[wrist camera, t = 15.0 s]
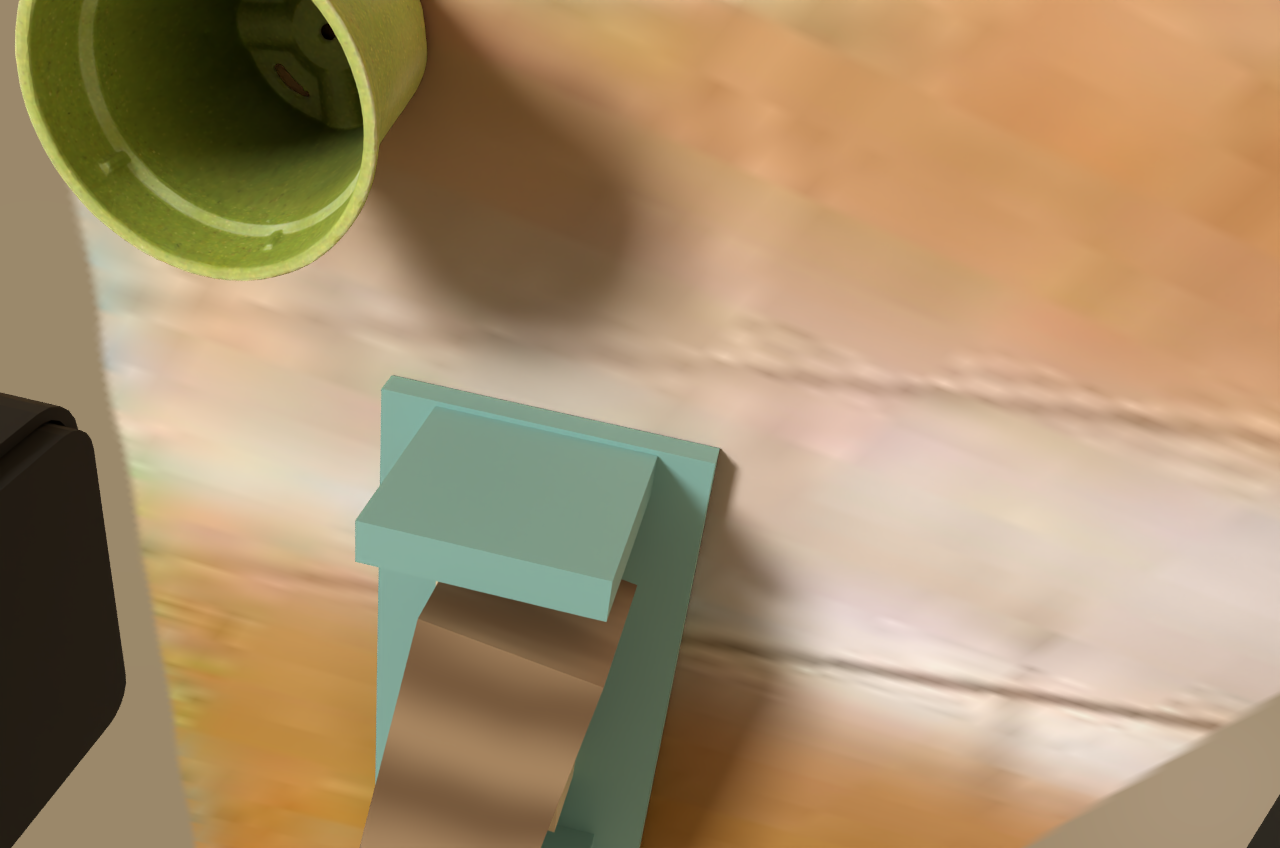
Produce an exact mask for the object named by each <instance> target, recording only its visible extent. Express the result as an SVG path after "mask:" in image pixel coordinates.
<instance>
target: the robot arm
mask: <svg viewBox="0 0 1280 848" xmlns="http://www.w3.org/2000/svg"><path fill="white" fill-rule="evenodd" d="M125 675H126V674H125V667H124V661H123V653H122V646H121V639H120V632H119V626H118V618H117V610H116V603H115V597H114V589H113V582H112V575H111V568H110V561H109V554H108V547H107V540H106V532H105V525H104V518H103V511H102V504H101V497H100V490H99V483H98V475H97V468H96V462H95V454H94V448H93V444H92V441H91V439H90V437H89V436H88V435H87V433H85V432H83V431H81V430H78V428H77V424H76V421H75V418H74V417H73V416H72V414H71V413H70V412H69V411H68V410H66V409H64V408H62V407H60V406H56V405H52V404H47V403H43V402H39V401H34V400H30V399H26V398H22V397H17V396H13V395H9V394H4V393H0V848H11V847H12V846H13V845H14V844H15V842H16V841H17V840H18V838H19V837H20V836H21V835H22V833H23V832H24V831H25V830H26V829H27V827H28V826H29V825H30V823H31V822H32V821H33V820H34V818H35V817H36V816H37V815H38V813H39V812H40V811H41V809H42V808H43V807H44V806H45V805H46V803H47V802H48V801H49V800H50V798H51V797H52V796H53V795H54V793H55V792H56V791H57V790H58V788H59V787H60V786H61V785H62V783H63V782H64V781H65V780H66V778H67V777H68V776H69V775H70V773H71V772H72V771H73V770H74V768H75V767H76V766H77V765H78V763H79V762H80V761H81V759H82V758H83V757H84V756H85V755H86V753H87V752H88V751H89V750H90V748H91V747H92V746H93V745H94V743H95V742H96V741H97V740H98V738H99V737H100V736H101V735H102V733H103V732H104V731H105V730H106V728H107V727H108V726H109V724H110V723H111V722H112V720H113V718H114V717H115V715H116V713H117V711H118V709H119V707H120V705H121V702H122V698H123V696H124V691H125V685H126V676H125ZM1247 848H1280V795H1279V797H1278V798H1277V800H1276V801H1275V803H1274V805H1273V806H1272V808H1271V809H1270V811H1269V813H1268V814H1267V816H1266V817H1265V819H1264V821H1263V823H1262V824H1261V826H1260V827H1259V829H1258V831H1257V832H1256V834H1255V835H1254V837H1253V839H1252V840H1251V842H1250V843H1249V845H1248V847H1247Z"/></svg>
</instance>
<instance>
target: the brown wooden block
mask: <svg viewBox="0 0 1280 848" xmlns="http://www.w3.org/2000/svg"><path fill="white" fill-rule="evenodd" d="M636 588H637V585H636V584H633V583H630V582H628V581H625V580H622V579H621V582H620V585H619V587H618V590H617V593H616V596H615V599H614V602H613V605H612V608H611V610H610V613H609V616H608V619H607V622H604V621H600V620H596V619H591V618H587V617H583V616H579V615H575V614H571V613H567V612H562V611H558V610H554V609H550V608H546V607H542V606H538V605H533V604H529V603H525V602H521V601H517V600H513V599H508V598H504V597H500V596H496V595H492V594H488V593H484V592H479V591H475V590H471V589H467V588H463V587H459V586H455V585H450V584H446V583H442V582H438V583H437V585H436V587H435V589H434V590H433V592H432V594H431V596H430V598H429V599H428V601H427V603H426V605H425V607H424V608H423V610H422V612H421V614H420V616H419V617H418V620H417V624H416V628H415V632H414V636H413V639H412V643H411V647H410V651H409V655H408V659H407V663H406V667H405V671H404V675H403V679H402V683H401V687H400V691H399V695H398V698H397V702H396V706H395V710H394V714H393V718H392V722H391V726H390V730H389V734H388V738H387V742H386V746H385V750H384V754H383V757H382V761H381V765H380V769H379V773H378V777H377V781H376V785H375V789H374V793H373V797H372V801H371V805H370V809H369V813H368V816H367V820H366V824H365V828H364V832H363V836H362V840H361V844H360V848H541V846H542V844H543V841H544V838H545V836H546V833H547V831H548V828H549V826H550V823H551V821H552V818H553V816H554V813H555V810H556V808H557V805H558V803H559V800H560V798H561V795H562V793H563V790H564V788H565V785H566V782H567V780H568V777H569V775H570V772H571V770H572V767H573V765H574V762H575V760H576V757H577V754H578V752H579V749H580V747H581V744H582V742H583V739H584V737H585V734H586V732H587V729H588V726H589V724H590V721H591V719H592V716H593V714H594V711H595V709H596V706H597V704H598V701H599V698H600V696H601V693H602V691H603V688H604V685H605V682H606V679H607V676H608V673H609V670H610V667H611V664H612V661H613V658H614V655H615V652H616V649H617V646H618V643H619V640H620V637H621V634H622V630H623V627H624V624H625V621H626V618H627V615H628V612H629V609H630V606H631V603H632V600H633V597H634V594H635V591H636Z"/></svg>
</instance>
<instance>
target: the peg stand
mask: <svg viewBox="0 0 1280 848" xmlns="http://www.w3.org/2000/svg"><path fill="white" fill-rule="evenodd" d="M719 450H720V448H716V447H711V446H707V445H702V444H698V443H693V442H689V441H684V440H680V439H676V438H671V437H667V436H662V435H658V434H653V433H649V432H644V431H640V430H635V429H631V428H626V427H622V426H617V425H613V424H608V423H604V422H599V421H595V420H590V419H586V418H581V417H577V416H572V415H568V414H564V413H559V412H555V411H550V410H546V409H541V408H537V407H532V406H528V405H523V404H519V403H514V402H510V401H505V400H501V399H496V398H492V397H487V396H483V395H478V394H474V393H469V392H465V391H460V390H456V389H451V388H447V387H443V386H438V385H434V384H429V383H425V382H420V381H416V380H411V379H407V378H402V377H398V376H393V375H392V376H391V377H390V379H389V380H388V381H387V382H386V384H385V385H384V386H383V388H382V390H381V456H380V486H379V488H378V489H377V490H376V492H375V493H374V495H373V496H372V498H371V499H370V500H369V502H368V503H367V505H366V506H365V508H364V509H363V511H362V512H361V513H360V515H359V516H358V518H357V519H356V521H355V562H359V563H363V564H367V565H371V566H376V567H379V586H378V651H377V716H376V781H377V777H378V773H379V769H380V765H381V761H382V757H383V754H384V750H385V746H386V742H387V738H388V734H389V730H390V726H391V722H392V718H393V714H394V710H395V706H396V702H397V698H398V695H399V691H400V687H401V683H402V679H403V675H404V671H405V667H406V663H407V659H408V655H409V651H410V647H411V643H412V639H413V636H414V632H415V628H416V624H417V620H418V617H419V616H420V614H421V612H422V610H423V608H424V607H425V605H426V603H427V601H428V599H429V598H430V596H431V594H432V592H433V590H434V589H435V587H436V585H437V583H438V582H442V583H446V584H450V585H455V586H459V587H463V588H467V589H471V590H475V591H479V592H484V593H488V594H492V595H496V596H500V597H504V598H508V599H513V600H517V601H521V602H525V603H529V604H533V605H538V606H542V607H546V608H550V609H554V610H558V611H562V612H567V613H571V614H575V615H579V616H583V617H587V618H591V619H596V620H600V621H604V622H607V619H608V616H609V613H610V610H611V608H612V605H613V602H614V599H615V596H616V593H617V590H618V587H619V585H620V582H621V579H622V580H625V581H628V582H630V583H633V584H636V585H637V588H636V591H635V594H634V597H633V600H632V603H631V606H630V609H629V612H628V615H627V618H626V621H625V624H624V627H623V630H622V634H621V637H620V640H619V643H618V646H617V649H616V652H615V655H614V658H613V661H612V664H611V667H610V670H609V673H608V676H607V679H606V682H605V685H604V688H603V691H602V693H601V696H600V698H599V701H598V704H597V706H596V709H595V711H594V714H593V716H592V719H591V721H590V724H589V726H588V729H587V732H586V734H585V737H584V739H583V742H582V744H581V747H580V749H579V752H578V754H577V757H576V760H575V762H574V765H573V767H572V770H571V772H570V775H569V777H568V780H567V782H566V785H565V788H564V790H563V793H562V795H561V798H560V800H559V803H558V805H557V808H556V810H555V813H554V816H553V818H552V821H551V823H550V826H549V828H548V831H547V833H546V836H545V838H544V841H543V844H542V846H541V848H640V845H641V840H642V835H643V830H644V825H645V820H646V815H647V810H648V805H649V800H650V795H651V790H652V785H653V780H654V775H655V770H656V765H657V760H658V755H659V750H660V745H661V740H662V735H663V730H664V725H665V720H666V715H667V710H668V705H669V700H670V695H671V690H672V685H673V680H674V675H675V670H676V665H677V660H678V655H679V650H680V645H681V640H682V635H683V630H684V625H685V620H686V615H687V610H688V605H689V600H690V595H691V590H692V585H693V580H694V575H695V570H696V565H697V560H698V555H699V550H700V545H701V540H702V535H703V530H704V525H705V520H706V515H707V510H708V505H709V500H710V495H711V490H712V485H713V480H714V475H715V470H716V465H717V460H718V455H719ZM375 785H376V782H375Z"/></svg>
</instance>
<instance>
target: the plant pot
mask: <svg viewBox="0 0 1280 848" xmlns="http://www.w3.org/2000/svg"><path fill="white" fill-rule="evenodd" d="M327 23H329V25H330V26H331V28H332V30H333V31H334V33H335V35H336V36H335V37H334V38H333V40H326V39H325V38H324V37H323V36H322V34H321V28H322V26H323V25H325V24H327ZM15 30H16V31H15V37H16V38H15V57H16V62H17V70H18V75H19V82H20V87H21V91H22V94H23V98H24V102H25V106H26V109H27V112H28V114H29V117H30V119H31V122H32V124H33V127H34V129H35V131H36V133H37V135H38V137H39V139H40V141H41V143H42V145H43V147H44V149H45V151H46V153H47V155H48V157H49V158H50V160H51V162H52V163H53V165H54V167H55V168H56V170H57V171H58V173H59V174H60V175H61V177H62V178H63V180H64V181H65V182H66V183H67V185H68V186H69V188H70V189H71V190H72V191H73V192H74V193H75V194H76V196H77V197H78V198H79V199H80V201H81V202H82V203H83V204H84V205H85V206H86V207H87V208H88V210H89V211H90V212H91V213H92V214H93V215H94V216H95V217H96V218H98V219H99V220H100V221H101V222H102V223H104V224H105V225H106V226H107V227H109V228H110V229H111V230H112V231H114V232H115V233H116V234H118V235H119V236H120V237H121V238H123V239H124V240H126V241H127V242H129V243H130V244H131V245H133V246H134V247H136V248H137V249H139V250H141V251H142V252H144V253H146V254H147V255H149V256H152V257H154V258H155V259H157V260H160V261H163V262H165V263H167V264H169V265H171V266H174V267H177V268H179V269H181V270H184V271H187V272H190V273H193V274H196V275H200V276H206V277H210V278H214V279H222V280H236V281H250V280H261V279H266V278H272V277H276V276H280V275H284V274H287V273H290V272H293V271H296V270H298V269H301V268H303V267H305V266H307V265H309V264H310V263H312V262H314V261H315V260H317V259H318V258H320V257H321V256H322V255H324V254H325V253H326V252H327V251H329V250H330V249H331V248H332V247H333V246H334V245H335V244H336V243H337V242H338V241H339V240H340V239H341V238H342V237H343V236H344V235H345V233H346V232H347V231H348V230H349V228H350V227H351V226H352V224H353V223H354V221H355V220H356V218H357V217H358V215H359V213H360V212H361V210H362V208H363V206H364V204H365V202H366V199H367V197H368V194H369V192H370V189H371V186H372V183H373V180H374V176H375V171H376V166H377V159H378V153H379V145H380V143H381V141H382V140H383V138H384V137H385V136H386V134H387V133H388V131H389V130H390V128H391V127H392V125H393V124H394V122H395V121H396V120H397V118H398V117H399V115H400V114H401V113H402V111H403V110H404V108H405V107H406V106H407V104H408V102H409V101H410V99H411V98H412V97H413V95H414V93H415V92H416V90H417V88H418V86H419V84H420V82H421V79H422V77H423V74H424V71H425V67H426V62H427V43H426V33H425V24H424V16H423V9H422V6H421V3H420V0H19V6H18V11H17V20H16V29H15ZM277 63H278V64H281V65H282V66H284V67H285V69H286V71H287V72H288V73H289V74H290V75H291V76H292V78H294V80H295V81H297V83H298V84H299V85H301V86H302V87H303V90H304V91H307V92H308V93H309V94H310V97H308V96H302V95H300V94H299V93H297V92H295V91H293V90H292V89H291V88H289V87H288V86H287V85H286V84H285V83H284V82H283V81H282V79H281V78H280V77H279V75H278V74H277V71H276V69H275V65H276V64H277Z"/></svg>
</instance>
